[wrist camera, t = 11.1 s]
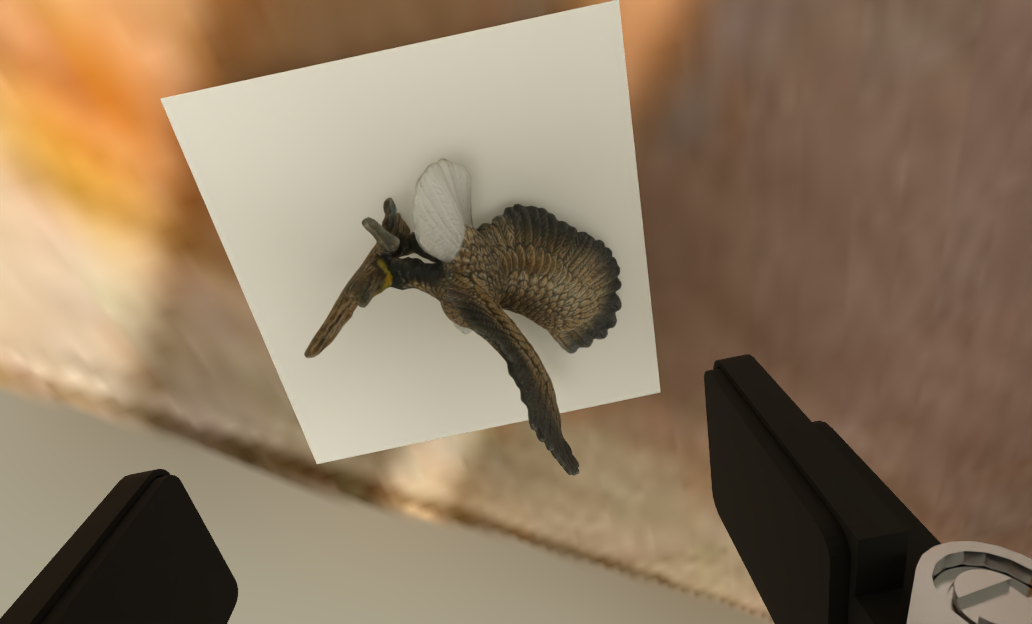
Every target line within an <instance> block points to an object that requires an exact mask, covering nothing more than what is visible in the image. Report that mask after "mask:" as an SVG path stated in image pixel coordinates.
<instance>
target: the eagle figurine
mask: <svg viewBox="0 0 1032 624" xmlns="http://www.w3.org/2000/svg"><path fill="white" fill-rule="evenodd" d="M471 180H472V178H471V175H470V173H469V171H468V170H467V169H466V168H465V167H464V166H463V165H460V164H457V163H453V162H451V161H449V160H447V159H444V158H441V159H440V160H438V161H437V162H436V163H432V164H430V165H429V166H427V168H426V169H425V171H424V172H423V174H421V175H420V177H419V178H418V180H417V182H416V186H415V195H414V198H413V213H412V222H413V226H414V232H411V234H410V228H409V226H408V225H407V224H406V222H405V221H404V220H403V219H402V218H401V215H400V213H397V209H396V205H395V203H394V201H393V199H392V198H391V197H390V198H387V199H386V200H385V201H384V205H383V209H384V213H385V217H384V220H383V221H382V225H380V224H379V223H378V222H377V221H376V220H375V219H372V218H369V217H367V218H365V219H363V220H362V225H363V226H364V228H365V229H366V230H367V231H368V232H369V233H371V234H372V235H373V237H374V238H375V239H376V241H377V242H376V245H375V246H374V247H373V248H372V250H371V251H370V253H369V254H368V255H367V257H366V259H365V260H364V262H363V263H362V265H361V266H360V267H359V269H358V270H357V271H356V272H355V274H354V275H353V276H352V278H351V279H350V280H349V281H348V283H347V284H346V286H345V287H344V289H343V290H342V292H341V294H340V296H339V297H338V299H337V300H336V302H335V304H334V306H333V308H332V309H331V311H330V313H329V315H328V316H327V318H326V320H325V321H324V323H323V324H322V326H321V327H320V329H319V330H318V331H317V333H316V334H315V336H314V337H313V339H312V340H311V342H310V344H309V346H308V348H307V349H306V351H305V353H304V355H305V357H306V358H313V357H315V356H317V355H319V354H320V353H321V352H322V351H323V350H324V349H325V348H326V347H327V346H329V345H330V344H331V343H332V342H333V340H334V339H335V338H336V336H337V335H338V333H339V332H340V331H341V329H342V327H343V326H344V325H345V324H346V323H347V322H348V320H349V319H350V318H352V315H353V312H354V311H355V309H356V308H357V306H358V305H359V307H362V308H365V307H366V306H367V305H368V304H369V303H370V301H371V299H372V298H373V297H374V296H376V295H378V294H380V293H382V292H383V291H384V290H385V289H387V288H389V287H393V288H396V289H400V290H406V289H411V288H415V289H419V290H420V291H423V292H425V293H428V294H429V295H431V296H432V297H434V298H436V299H437V300H438V301H439V302H441V303H440V304H441V307H442V309H443V311H444V313H445V315H446V316H447V317H448V318H449V319H450V320H451V321H452V322H453V323H454V326H455V327H456V328H457V329H458V330H460V331H461V332H463V333H464V334H465V335H467V334H469V333H471V332H472V331H474V332H475V333H476V334H477V335H480V336H481V337H482V338H483V339H485V340H486V341H487V342H488V343H489V344H490V345H491V346H492V347H493V348H494V349H495V350H496V351H497V352H498V353H499V354H500V355H501V356H502V358H503V359H504V360H505V361H506V363H507V368H508V373H509V375H510V376H511V377H512V378H513V380H514V381H515V384H516V386H517V387H518V388H519V389H520V395H521V401H522V402H523V403H524V404H525V405H526V406H527V409H528V419H529V423H530V426H531V428H532V430H534V431H535V432H536V435H537V438H538V439H539V440H540V441H541V442H545V445H546V447H547V449H548V450H549V451H551V453H552V455H553V456H554V458H555V459H557V461H558V462H559V464H560V465H561V466H562V467H563V468H564V470H565V471H566V472H567V473H568V474H569V475H571V474H572V475H576V474H579V469H578V467H579V463H578V462H577V460H576V458H575V457H574V456H573V454H572V451H571V448H570V446H569V445H568V444H567V442H566V441H565V439H564V438H563V435H562V432H561V418H560V412H559V408H558V405H557V401H556V394H555V391H554V387H553V384H552V380H551V378H550V376H549V374H548V373H547V371H546V369H545V367H544V365H543V363H542V362H541V360H540V357H539V355H538V354H537V353H536V351H535V350H534V347H533V346H532V345H531V344H530V343H529V341H528V339H527V338H526V337H525V336H524V335H523V333H522V332H521V330H520V329H519V328H518V327H517V325H516V323H515V322H514V321H513V320H512V319H511V318H510V317H509V316H508V315H507V314H506V313H505V312H504V311H503V309H504V310H508V311H511V312H514V313H517V314H520V315H523V316H525V317H526V318H528V319H530V320H532V321H533V322H535V323H536V324H537V325H539V326H541V327H542V328H544V329H546V330H547V331H548V332H549V333H550V334H551V336H552V337H553V339H554V340H555V341H556V342H558V343H559V345H560V346H561V348H562V349H564V350H566V351H567V352H568V353H570V354H573V353H575V352H576V351H577V350H578V348H588V347H590V346H591V345H592V343H593V340H594V339H598V340H601V339H604V338H606V337H607V335H608V329H610V328H614V327H615V326H616V323H617V318H616V312H617V311H619V310H620V309H621V307H622V303H621V300H620V298H619V296H618V295H617V294H616V291H618V290H619V289H620V288H621V285H622V283H621V281H620V280H619V279H618V275H619V274H620V267H619V266H618V264H617V260H616V259H615V258H614V257H612V250H610V248H607V247H605V244H604V242H603V241H601V240H595V239H594V238H593V237H592V236H590V235H589V234H588V233H586V232H577V229H576V228H575V227H573V226H570V225H569V224H568V223H566V222H564V221H558V220H557V219H556V217H555V215H554V214H552V213H549V212H548V211H547V210H546V209H544V208H537V207H536V206H523V205H521V204H515V205H514V206H513V207H506V208H505V210H504V213H503V215H498V216H496V217H494V218H493V219H492V223H491V224H488V223H483V224H481V225H480V226H479V228H477V229H475V228H474V226H473V221H472V207H471ZM413 253H415V254H418V255H419V256H421V257H423V258H425V259H428V260H430V261H432V262H434V263H424V262H423V261H422V260H421V259H419V258H410V257H406V258H403V259H402V258H399V257H402V256H408V255H410V254H413Z"/></svg>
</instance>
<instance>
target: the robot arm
mask: <svg viewBox="0 0 1032 624" xmlns="http://www.w3.org/2000/svg"><path fill="white" fill-rule="evenodd" d="M704 383H705V397H706V410H707V424H708V438H709V452H710V466H711V480H712V492H713V498H714V502H715V506H716V509H717V511H718V514H719V516H720V518H721V520H722V522H723V524H724V526H725V527H726V529H727V531H728V533H729V535H730V537H731V539H732V541H733V543H734V545H735V547H736V549H737V551H738V553H739V555H740V557H741V559H742V561H743V563H744V565H745V566H746V568H747V570H748V572H749V574H750V576H751V578H752V580H753V582H754V584H755V586H756V588H757V590H758V592H759V594H760V596H761V598H762V600H763V602H764V604H765V605H766V607H767V609H768V611H769V613H770V615H771V617H772V619H773V621H774V623H775V624H1032V559H1030V558H1028V557H1026V556H1024V555H1022V554H1019V553H1017V552H1014V551H1011V550H1008V549H1006V548H1003V547H1000V546H997V545H991V544H986V543H981V542H976V541H951V542H947V543H943V544H941V543H940V542H939V541H938V540H937V539H936V538H935V537H934V536H933V535H932V534H931V533H930V532H929V531H928V529H927V528H926V527H925V526H924V525H923V524H922V523H921V522H920V521H919V520H918V519H917V518H916V517H915V516H914V515H913V514H912V512H911V511H910V510H909V509H908V508H907V507H906V506H905V505H904V504H903V503H902V502H901V501H900V500H899V499H898V498H897V497H896V495H895V494H894V493H893V492H892V491H891V490H890V489H889V488H888V487H887V486H886V485H885V484H884V483H883V482H882V481H881V479H880V478H879V477H878V476H877V475H876V474H875V473H874V472H873V471H872V470H871V469H870V468H869V467H868V466H867V465H866V464H865V462H864V461H863V460H862V459H861V458H860V457H859V456H858V455H857V454H856V453H855V452H854V451H853V450H852V449H851V448H850V447H849V445H848V444H847V443H846V442H845V441H844V440H843V439H842V438H841V437H840V436H839V435H838V434H837V433H836V432H835V431H834V430H833V428H831V427H830V426H829V425H828V424H827V423H825V422H822V421H815V422H811V421H810V420H809V419H808V417H807V416H806V415H805V414H804V413H803V412H802V411H801V410H800V408H799V407H798V406H797V405H796V404H795V403H794V402H793V401H792V400H791V398H790V397H789V396H788V395H787V394H786V393H785V392H784V391H783V390H782V388H781V387H780V386H779V385H778V384H777V383H776V382H775V381H774V380H773V378H772V377H771V376H770V375H769V374H768V373H767V372H766V371H765V370H764V368H763V367H762V366H761V365H760V364H759V363H758V362H757V361H756V360H755V358H754V357H752V356H751V355H748V354H747V355H742V356H737V357H731V358H726V359H721V360H716V361H715V363H714V370H709V371H706V372H705V374H704ZM237 597H238V588H237V583H236V580H235V578H234V577H233V575H232V573H231V571H230V569H229V567H228V566H227V564H226V562H225V560H224V559H223V557H222V555H221V553H220V551H219V549H218V548H217V546H216V544H215V542H214V540H213V539H212V537H211V535H210V533H209V531H208V530H207V528H206V526H205V524H204V522H203V520H202V518H201V517H200V515H199V513H198V511H197V509H196V508H195V506H194V504H193V502H192V500H191V499H190V497H189V495H188V493H187V491H186V490H185V488H184V486H183V484H182V482H181V481H180V479H179V478H178V477H176V476H174V475H170V474H169V472H167V471H166V470H163V469H157V470H152V471H147V472H142V473H136V474H131V475H128V476H125V477H124V478H123V479H122V480H120V481H119V482H118V484H117V485H116V486H115V487H114V488H113V489H112V490H111V492H110V493H109V494H108V495H107V496H106V497H105V498H104V500H103V501H102V502H101V503H100V504H99V505H98V507H97V508H96V509H95V510H94V511H93V512H92V513H91V515H90V516H89V517H88V518H87V519H86V520H85V522H84V523H83V524H82V525H81V526H80V527H79V528H78V530H77V531H76V532H75V533H74V534H73V536H72V537H71V538H70V539H69V540H68V541H67V542H66V544H65V545H64V546H63V547H62V548H61V549H60V550H59V552H58V553H57V554H56V555H55V556H54V557H53V558H52V560H51V561H50V562H49V563H48V564H47V566H46V567H45V568H44V569H43V570H42V571H41V572H40V573H39V575H38V576H37V577H36V578H35V579H34V580H33V582H32V583H31V584H30V585H29V586H28V587H27V588H26V590H25V591H24V592H23V593H22V594H21V595H20V597H19V598H18V599H17V600H16V601H15V602H14V603H13V605H12V606H11V607H10V608H9V609H8V610H7V612H6V613H5V614H4V615H3V616H2V617H1V618H0V624H227V622H228V620H229V618H230V616H231V614H232V611H233V609H234V607H235V605H236V602H237Z"/></svg>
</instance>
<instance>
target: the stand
mask: <svg viewBox="0 0 1032 624" xmlns="http://www.w3.org/2000/svg"><path fill="white" fill-rule="evenodd" d="M161 102H162V104H163V106H164V109H165V111H166V113H167V116H168V118H169V120H170V123H171V125H172V127H173V130H174V132H175V134H176V137H177V139H178V141H179V144H180V146H181V148H182V151H183V153H184V155H185V158H186V160H187V162H188V165H189V167H190V169H191V172H192V174H193V176H194V179H195V181H196V183H197V186H198V188H199V190H200V193H201V195H202V197H203V200H204V202H205V204H206V207H207V209H208V211H209V214H210V216H211V218H212V221H213V223H214V225H215V228H216V230H217V232H218V235H219V237H220V239H221V242H222V244H223V246H224V249H225V251H226V253H227V256H228V258H229V260H230V263H231V265H232V267H233V270H234V272H235V274H236V277H237V279H238V281H239V284H240V286H241V288H242V291H243V293H244V295H245V297H246V300H247V302H248V304H249V307H250V309H251V311H252V314H253V316H254V318H255V321H256V323H257V325H258V328H259V330H260V332H261V335H262V337H263V339H264V342H265V344H266V346H267V349H268V351H269V353H270V356H271V358H272V360H273V363H274V365H275V367H276V370H277V372H278V374H279V377H280V379H281V381H282V384H283V386H284V388H285V391H286V393H287V395H288V398H289V400H290V402H291V405H292V407H293V409H294V412H295V414H296V416H297V419H298V421H299V423H300V426H301V428H302V430H303V433H304V435H305V437H306V440H307V442H308V444H309V447H310V449H311V451H312V454H313V456H314V458H315V461H316V463H317V464H319V463H324V462H329V461H334V460H339V459H343V458H348V457H353V456H358V455H363V454H367V453H372V452H377V451H382V450H387V449H391V448H396V447H401V446H406V445H410V444H415V443H420V442H425V441H430V440H434V439H439V438H444V437H449V436H454V435H458V434H463V433H468V432H473V431H478V430H482V429H487V428H492V427H497V426H502V425H506V424H511V423H516V422H521V421H526V420H529V419H528V409H527V406H526V405H525V404H524V403H523V402H522V401H521V395H520V389H519V388H518V387H517V386H516V384H515V381H514V380H513V378H512V377H511V376H510V375H509V373H508V368H507V363H506V361H505V360H504V359H503V358H502V356H501V355H500V354H499V353H498V352H497V351H496V350H495V349H494V348H493V347H492V346H491V345H490V344H489V343H488V342H487V341H486V340H485V339H483V338H482V337H481V336H480V335H477V334H476V333H475V332H474V331H472V332H471V333H469V334H467V335H465V334H464V333H463V332H461V331H460V330H458V329H457V328H456V327H455V326H454V323H453V322H452V321H451V320H450V319H449V318H448V317H447V316H446V315H445V313H444V311H443V309H442V307H441V304H440V303H441V302H439V301H438V300H437V299H436V298H434V297H432V296H431V295H429V294H428V293H425V292H423V291H420V290H419V289H415V288H411V289H406V290H400V289H396V288H393V287H389V288H387V289H385V290H384V291H383V292H382V293H380V294H378V295H376V296H374V297H373V298H372V299H371V301H370V303H369V304H368V305H367V306H366V307H365V308H362V307H359V305H358V306H357V308H356V309H355V311H354V312H353V315H352V318H350V319H349V320H348V322H347V323H346V324H345V325H344V326H343V327H342V329H341V331H340V332H339V333H338V335H337V336H336V338H335V339H334V340H333V342H332V343H331V344H330V345H329V346H327V347H326V348H325V349H324V350H323V351H322V352H321V353H320V354H319V355H317V356H315V357H313V358H306V357H305V355H304V353H305V351H306V349H307V348H308V346H309V344H310V342H311V340H312V339H313V337H314V336H315V334H316V333H317V331H318V330H319V329H320V327H321V326H322V324H323V323H324V321H325V320H326V318H327V316H328V315H329V313H330V311H331V309H332V308H333V306H334V304H335V302H336V300H337V299H338V297H339V296H340V294H341V292H342V290H343V289H344V287H345V286H346V284H347V283H348V281H349V280H350V279H351V278H352V276H353V275H354V274H355V272H356V271H357V270H358V269H359V267H360V266H361V265H362V263H363V262H364V260H365V259H366V257H367V255H368V254H369V253H370V251H371V250H372V248H373V247H374V246H375V245H376V242H377V241H376V239H375V238H374V237H373V235H372V234H371V233H369V232H368V231H367V230H366V229H365V228H364V226H363V225H362V220H363V219H365V218H367V217H369V218H372V219H375V220H376V221H377V222H378V223H379V224H380V225H382V221H383V220H384V217H385V213H384V209H383V205H384V201H385V200H386V199H387V198H390V197H391V198H392V199H393V201H394V203H395V205H396V209H397V213H400V215H401V218H402V219H403V220H404V221H405V222H406V224H407V225H408V226H409V228H410V234H411V232H414V226H413V222H412V213H413V198H414V195H415V186H416V182H417V180H418V178H419V177H420V175H421V174H423V172H424V171H425V169H426V168H427V166H429V165H430V164H432V163H436V162H437V161H438V160H440V159H441V158H444V159H447V160H449V161H451V162H453V163H457V164H460V165H463V166H464V167H465V168H466V169H467V170H468V171H469V173H470V175H471V178H472V180H471V207H472V221H473V226H474V228H475V229H477V228H479V226H480V225H481V224H483V223H488V224H491V223H492V219H493V218H494V217H496V216H498V215H503V213H504V210H505V208H506V207H513V206H514V205H515V204H521V205H523V206H536V207H537V208H544V209H546V210H547V211H548V212H549V213H552V214H554V215H555V217H556V219H557V220H558V221H564V222H566V223H568V224H569V225H570V226H573V227H575V228H576V229H577V232H586V233H588V234H589V235H590V236H592V237H593V238H594V239H595V240H601V241H603V242H604V244H605V247H607V248H610V250H612V257H614V258H615V259H616V260H617V264H618V266H619V267H620V274H619V275H618V279H619V280H620V281H621V283H622V285H621V288H620V289H619V290H618V291H616V294H617V295H618V296H619V298H620V300H621V303H622V307H621V309H620V310H619V311H617V312H616V318H617V323H616V326H615V327H614V328H610V329H608V335H607V337H606V338H604V339H601V340H598V339H594V340H593V343H592V345H591V346H590V347H588V348H578V350H577V351H576V352H575V353H573V354H570V353H568V352H567V351H566V350H564V349H562V348H561V346H560V345H559V343H558V342H556V341H555V340H554V339H553V337H552V336H551V334H550V333H549V332H548V331H547V330H546V329H544V328H542V327H541V326H539V325H537V324H536V323H535V322H533V321H532V320H530V319H528V318H526V317H525V316H523V315H520V314H517V313H514V312H511V311H508V310H504V309H503V311H504V312H505V313H506V314H507V315H508V316H509V317H510V318H511V319H512V320H513V321H514V322H515V323H516V325H517V327H518V328H519V329H520V330H521V332H522V333H523V335H524V336H525V337H526V338H527V339H528V341H529V343H530V344H531V345H532V346H533V347H534V350H535V351H536V353H537V354H538V355H539V357H540V360H541V362H542V363H543V365H544V367H545V369H546V371H547V373H548V374H549V376H550V378H551V380H552V384H553V387H554V391H555V394H556V401H557V405H558V408H559V412H560V413H564V412H569V411H574V410H578V409H583V408H588V407H593V406H598V405H602V404H607V403H612V402H617V401H622V400H626V399H631V398H636V397H641V396H646V395H650V394H655V393H660V382H659V373H658V363H657V354H656V345H655V335H654V326H653V316H652V307H651V297H650V288H649V279H648V269H647V260H646V250H645V241H644V231H643V222H642V213H641V203H640V194H639V184H638V175H637V166H636V156H635V147H634V137H633V128H632V118H631V109H630V100H629V90H628V81H627V71H626V62H625V53H624V43H623V34H622V24H621V15H620V5H619V0H614V1H609V2H605V3H600V4H596V5H591V6H586V7H582V8H577V9H572V10H568V11H563V12H559V13H554V14H549V15H545V16H540V17H535V18H531V19H526V20H522V21H517V22H512V23H508V24H503V25H499V26H494V27H489V28H485V29H480V30H475V31H471V32H466V33H462V34H457V35H452V36H448V37H443V38H438V39H434V40H429V41H425V42H420V43H415V44H411V45H406V46H401V47H397V48H392V49H388V50H383V51H378V52H374V53H369V54H365V55H360V56H355V57H351V58H346V59H341V60H337V61H332V62H328V63H323V64H318V65H314V66H309V67H304V68H300V69H295V70H291V71H286V72H281V73H277V74H272V75H267V76H263V77H258V78H254V79H249V80H244V81H240V82H235V83H231V84H226V85H221V86H217V87H212V88H207V89H203V90H198V91H194V92H189V93H184V94H180V95H175V96H170V97H166V98H161ZM406 257H410V258H419V259H421V260H422V261H423V262H424V263H434V262H432V261H430V260H428V259H425V258H423V257H421V256H419V255H418V254H415V253H413V254H410V255H408V256H402V257H399V258H402V259H403V258H406Z"/></svg>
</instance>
